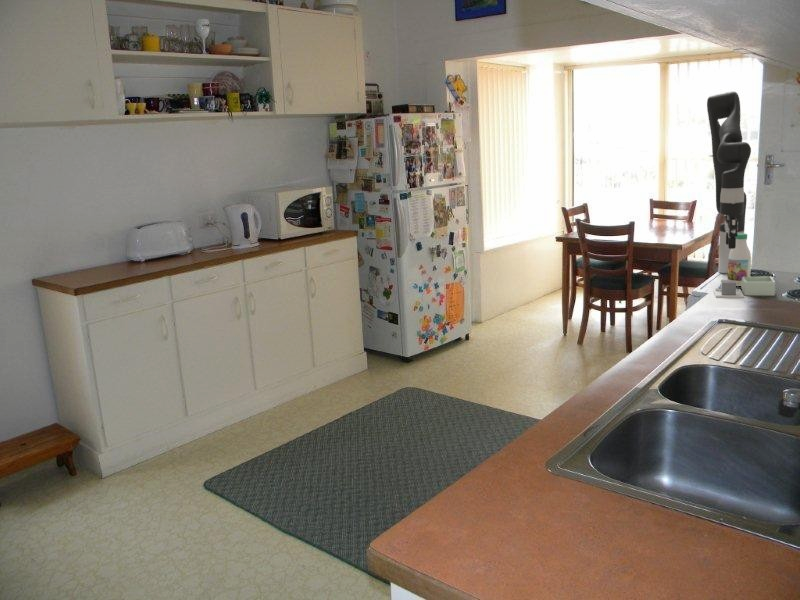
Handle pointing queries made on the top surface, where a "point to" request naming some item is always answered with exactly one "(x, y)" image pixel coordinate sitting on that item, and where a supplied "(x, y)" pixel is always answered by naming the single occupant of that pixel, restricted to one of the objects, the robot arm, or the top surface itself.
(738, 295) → the white tray
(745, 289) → the green bin
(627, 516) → the top surface
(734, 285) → the gray cube
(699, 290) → the top surface
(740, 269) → the milk bottle
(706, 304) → the top surface
